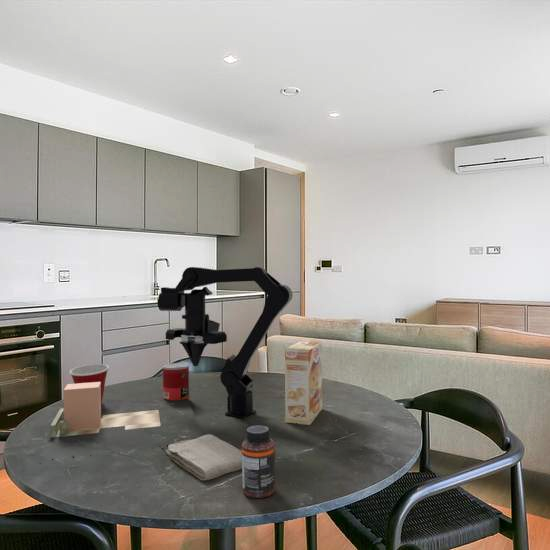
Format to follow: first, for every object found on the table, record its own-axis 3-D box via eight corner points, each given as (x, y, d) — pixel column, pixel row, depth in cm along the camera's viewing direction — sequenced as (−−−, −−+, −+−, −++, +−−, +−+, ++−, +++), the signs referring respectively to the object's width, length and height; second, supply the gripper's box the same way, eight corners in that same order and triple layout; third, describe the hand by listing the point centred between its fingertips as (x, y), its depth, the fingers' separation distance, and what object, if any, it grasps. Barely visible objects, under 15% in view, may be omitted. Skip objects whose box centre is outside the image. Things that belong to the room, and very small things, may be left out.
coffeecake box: (310, 425, 115) (309, 349, 115) (284, 422, 118) (283, 348, 117) (323, 408, 129) (322, 341, 129) (299, 406, 132) (298, 340, 132)
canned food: (186, 404, 135) (186, 367, 135) (160, 404, 135) (159, 367, 135) (191, 397, 143) (191, 362, 143) (166, 397, 143) (166, 362, 143)
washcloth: (208, 442, 105) (208, 429, 105) (255, 467, 92) (255, 452, 92) (162, 456, 98) (161, 442, 98) (205, 485, 84) (205, 469, 84)
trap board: (158, 414, 126) (158, 399, 126) (160, 430, 112) (160, 414, 112) (60, 423, 118) (60, 407, 118) (50, 442, 105) (50, 424, 105)
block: (101, 419, 117) (100, 381, 117) (99, 427, 112) (98, 387, 112) (67, 423, 115) (67, 384, 115) (64, 430, 109) (63, 389, 109)
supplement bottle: (257, 480, 85) (256, 420, 85) (282, 490, 81) (281, 427, 81) (235, 492, 80) (234, 429, 80) (260, 503, 76) (259, 437, 76)
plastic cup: (61, 412, 128) (60, 370, 128) (85, 402, 138) (85, 363, 138) (94, 415, 125) (94, 372, 125) (117, 404, 136) (116, 364, 136)
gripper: (238, 310, 129) (239, 364, 129) (190, 308, 140) (191, 358, 140) (213, 313, 120) (213, 371, 120) (164, 310, 130) (164, 364, 130)
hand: (195, 365), depth 128 cm, fingers closed
